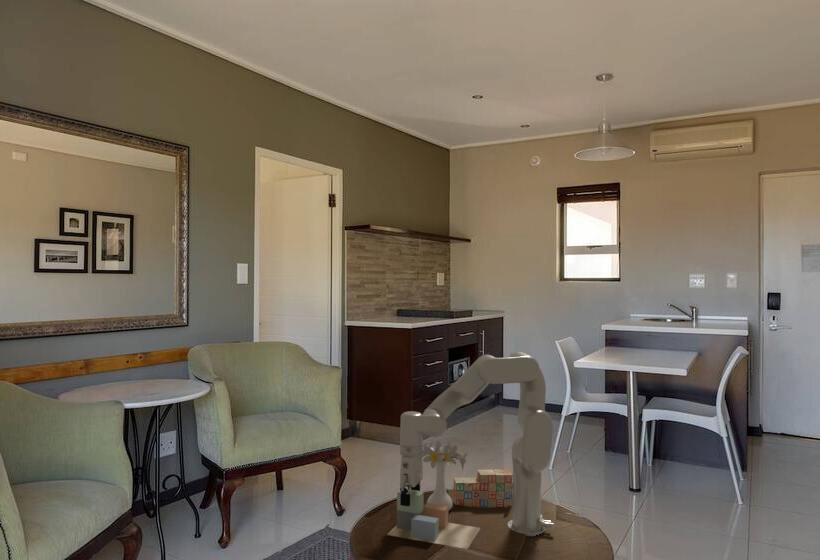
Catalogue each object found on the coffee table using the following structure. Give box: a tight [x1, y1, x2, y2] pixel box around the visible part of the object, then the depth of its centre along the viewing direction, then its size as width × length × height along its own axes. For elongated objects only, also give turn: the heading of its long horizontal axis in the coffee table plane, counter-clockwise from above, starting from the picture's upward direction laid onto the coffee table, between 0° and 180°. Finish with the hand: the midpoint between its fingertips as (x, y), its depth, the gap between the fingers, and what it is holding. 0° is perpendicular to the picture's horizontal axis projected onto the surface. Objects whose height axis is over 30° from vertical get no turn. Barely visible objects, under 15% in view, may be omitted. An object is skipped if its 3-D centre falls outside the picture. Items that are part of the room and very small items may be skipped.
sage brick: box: [396, 489, 425, 514], centre depth 200 cm, size 8×4×6 cm, turn 69°
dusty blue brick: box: [411, 515, 439, 542], centre depth 193 cm, size 8×4×6 cm, turn 70°
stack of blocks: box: [452, 468, 513, 508], centre depth 225 cm, size 21×6×12 cm, turn 94°
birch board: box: [386, 522, 481, 550], centre depth 197 cm, size 27×17×1 cm, turn 70°
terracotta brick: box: [423, 502, 450, 528], centre depth 203 cm, size 8×4×6 cm, turn 70°
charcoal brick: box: [396, 509, 423, 530], centre depth 200 cm, size 8×4×6 cm, turn 70°
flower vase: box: [422, 440, 469, 511], centre depth 216 cm, size 13×18×25 cm
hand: (410, 500), depth 200 cm, fingers open, 9 cm apart
